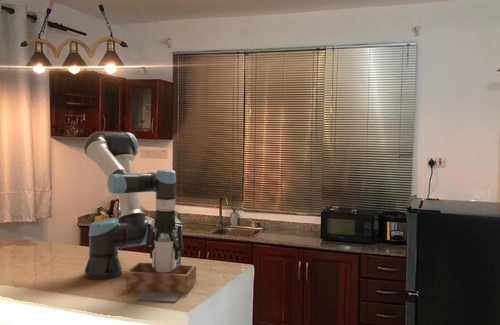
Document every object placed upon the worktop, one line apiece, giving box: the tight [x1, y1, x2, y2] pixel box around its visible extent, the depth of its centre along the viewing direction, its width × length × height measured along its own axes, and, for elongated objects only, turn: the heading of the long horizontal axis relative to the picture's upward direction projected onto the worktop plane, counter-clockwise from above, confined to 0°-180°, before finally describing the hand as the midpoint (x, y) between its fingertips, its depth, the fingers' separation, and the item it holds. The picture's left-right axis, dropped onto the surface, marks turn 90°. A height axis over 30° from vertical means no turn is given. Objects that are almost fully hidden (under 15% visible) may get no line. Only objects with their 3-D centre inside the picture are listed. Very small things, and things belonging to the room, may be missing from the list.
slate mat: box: [136, 291, 182, 304], centre depth 161 cm, size 14×8×1 cm, turn 84°
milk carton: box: [154, 214, 182, 265], centre depth 191 cm, size 9×9×25 cm
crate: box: [125, 262, 197, 295], centre depth 174 cm, size 24×14×7 cm, turn 84°
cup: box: [153, 238, 174, 272], centre depth 174 cm, size 8×8×12 cm
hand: (164, 267), depth 174 cm, fingers closed on cup, 7 cm apart
